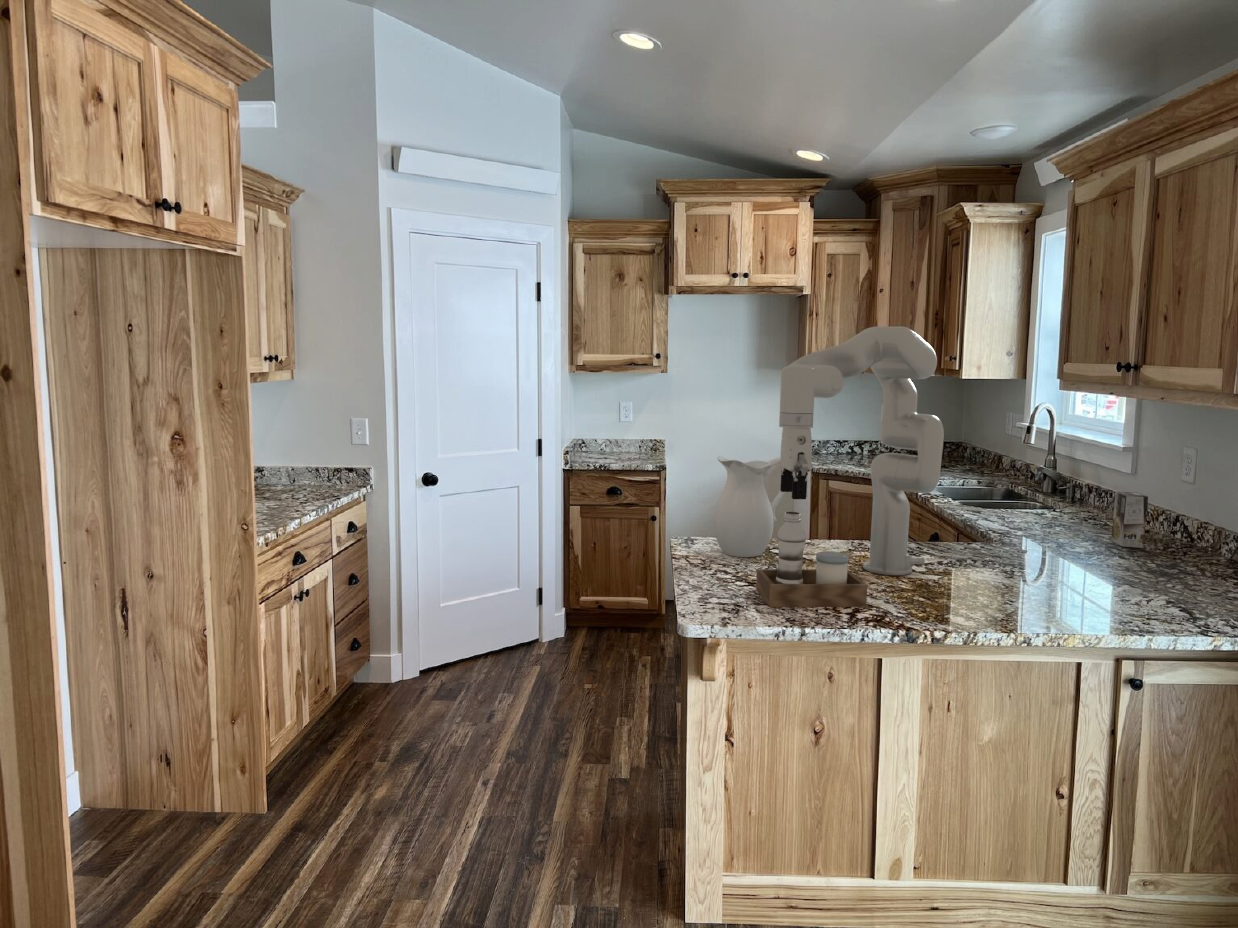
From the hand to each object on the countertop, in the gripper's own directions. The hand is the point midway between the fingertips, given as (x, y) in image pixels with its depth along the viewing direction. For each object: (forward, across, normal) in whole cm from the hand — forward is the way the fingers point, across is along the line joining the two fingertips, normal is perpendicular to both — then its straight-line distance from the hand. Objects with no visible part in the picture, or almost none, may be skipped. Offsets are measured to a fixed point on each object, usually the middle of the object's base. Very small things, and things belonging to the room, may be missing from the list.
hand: (793, 495), depth 193 cm
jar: (+24, 0, -10) cm, 26 cm away
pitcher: (+26, +49, -3) cm, 55 cm away
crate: (+25, 0, -5) cm, 26 cm away
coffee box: (+26, +60, -124) cm, 140 cm away
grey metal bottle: (+24, 0, 0) cm, 24 cm away
